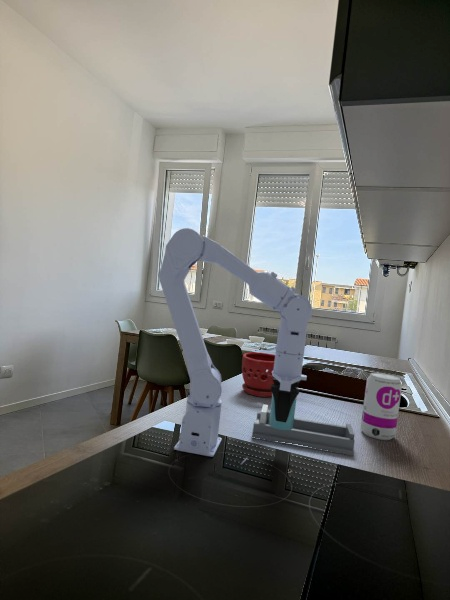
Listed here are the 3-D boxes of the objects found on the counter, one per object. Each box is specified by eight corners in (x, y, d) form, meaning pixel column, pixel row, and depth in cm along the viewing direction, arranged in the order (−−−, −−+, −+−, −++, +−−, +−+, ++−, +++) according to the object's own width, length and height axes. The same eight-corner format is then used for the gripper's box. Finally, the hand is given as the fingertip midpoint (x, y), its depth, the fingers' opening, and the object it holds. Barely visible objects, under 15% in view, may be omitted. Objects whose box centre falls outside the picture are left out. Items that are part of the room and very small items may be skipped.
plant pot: (236, 386, 139) (241, 350, 139) (276, 389, 140) (280, 354, 139) (240, 397, 126) (245, 357, 126) (283, 401, 127) (288, 362, 126)
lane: (353, 456, 90) (355, 437, 90) (251, 438, 94) (253, 420, 94) (347, 438, 101) (349, 421, 101) (256, 422, 105) (258, 406, 104)
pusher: (281, 433, 95) (283, 415, 95) (258, 429, 96) (261, 411, 96) (282, 424, 101) (284, 407, 101) (261, 421, 102) (263, 404, 102)
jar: (292, 431, 84) (297, 397, 84) (267, 427, 85) (271, 393, 85) (293, 423, 89) (297, 391, 89) (269, 419, 90) (273, 387, 90)
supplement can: (399, 442, 102) (408, 381, 101) (365, 438, 102) (373, 377, 101) (387, 430, 110) (395, 374, 109) (356, 427, 110) (363, 370, 109)
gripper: (310, 361, 79) (301, 432, 79) (308, 349, 93) (300, 410, 94) (272, 355, 80) (264, 425, 80) (276, 345, 94) (269, 405, 95)
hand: (281, 417), depth 87 cm, fingers closed on jar, 5 cm apart
